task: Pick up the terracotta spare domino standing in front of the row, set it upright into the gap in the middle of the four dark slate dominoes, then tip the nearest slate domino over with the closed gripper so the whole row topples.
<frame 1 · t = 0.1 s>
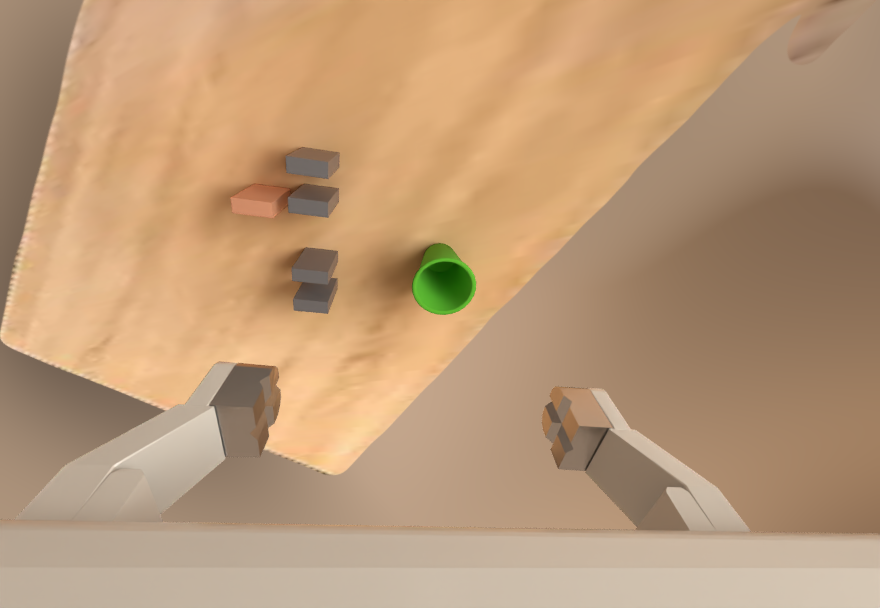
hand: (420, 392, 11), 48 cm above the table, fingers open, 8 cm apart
domino e: (322, 282, 61), on the table
domino a: (321, 157, 51), on the table
cup: (439, 256, 61), on the table
spare domino: (272, 193, 53), on the table
domino b: (321, 192, 54), on the table
domino d: (322, 255, 59), on the table
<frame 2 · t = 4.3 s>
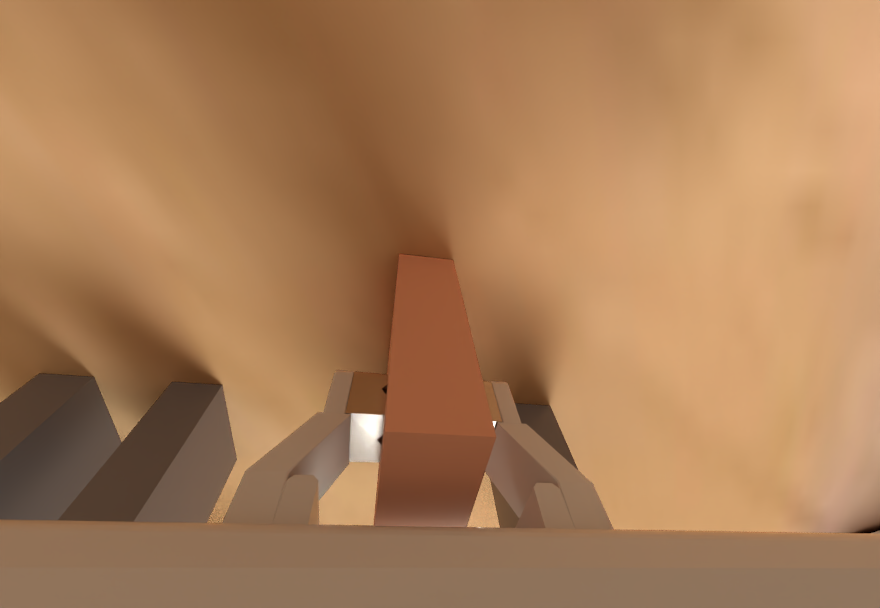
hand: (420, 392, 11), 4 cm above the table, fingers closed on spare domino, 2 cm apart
domino e: (86, 417, 16), on the table
domino a: (517, 439, 19), on the table
spare domino: (418, 314, 15), on the table, touching gripper
domino d: (207, 423, 17), on the table
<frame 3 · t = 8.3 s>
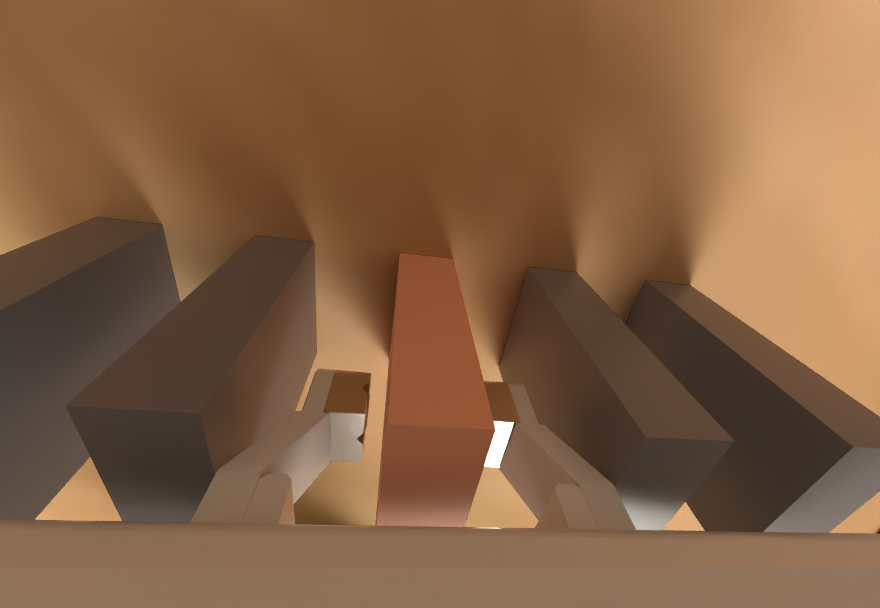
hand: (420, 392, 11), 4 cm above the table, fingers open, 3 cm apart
domino e: (148, 286, 13), on the table
domino a: (642, 332, 16), on the table
spare domino: (418, 312, 15), on the table
domino b: (534, 323, 15), on the table
domino d: (288, 299, 14), on the table, touching gripper
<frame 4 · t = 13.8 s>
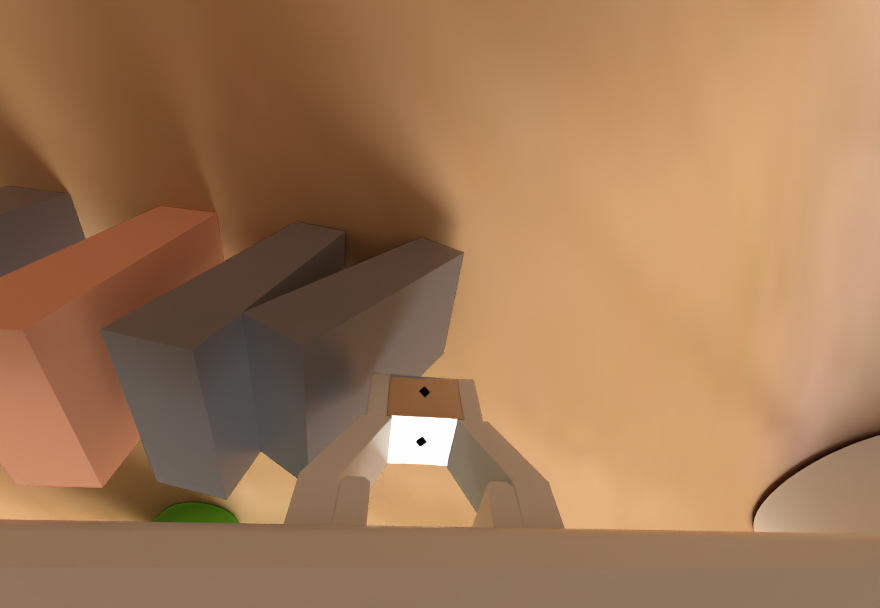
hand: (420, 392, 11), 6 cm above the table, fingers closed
domino a: (432, 298, 16), point 1 cm above the table, tilted 33°
cup: (202, 520, 24), on the table
spare domino: (200, 268, 15), on the table
domino b: (321, 282, 15), on the table, tilted 12°
domino d: (63, 253, 14), on the table
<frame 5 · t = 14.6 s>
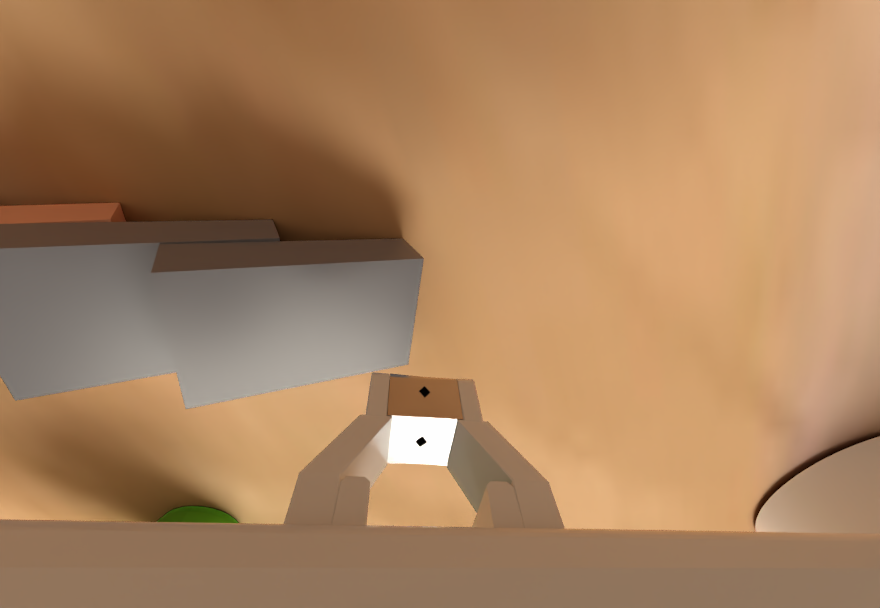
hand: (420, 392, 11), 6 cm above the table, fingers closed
domino a: (405, 303, 15), point 1 cm above the table, tilted 66°, touching domino b
cup: (203, 524, 24), on the table
spare domino: (137, 275, 14), point 1 cm above the table, tilted 64°, touching domino b, domino d
domino b: (281, 288, 15), point 1 cm above the table, tilted 66°, touching domino a, spare domino
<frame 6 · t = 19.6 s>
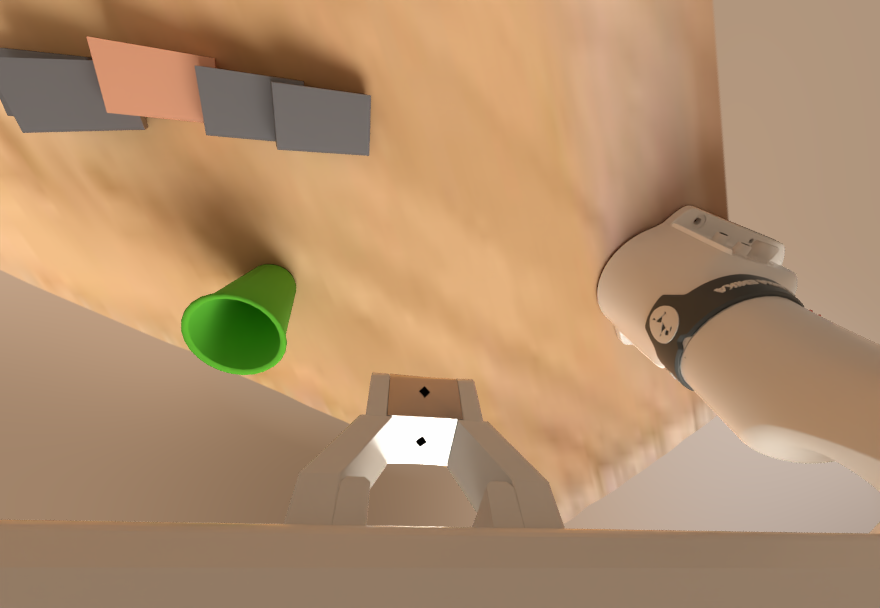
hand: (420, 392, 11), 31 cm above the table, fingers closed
domino e: (106, 92, 32), point 1 cm above the table, tilted 90°, touching domino d
domino a: (367, 125, 34), point 1 cm above the table, tilted 70°, touching domino b
cup: (274, 282, 43), on the table
spare domino: (218, 92, 32), point 1 cm above the table, tilted 68°, touching domino b, domino d
domino b: (304, 113, 33), point 1 cm above the table, tilted 73°, touching domino a, spare domino
domino d: (134, 96, 31), point 1 cm above the table, tilted 67°, touching domino e, spare domino
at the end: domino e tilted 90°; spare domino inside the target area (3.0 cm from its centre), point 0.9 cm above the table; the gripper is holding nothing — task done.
